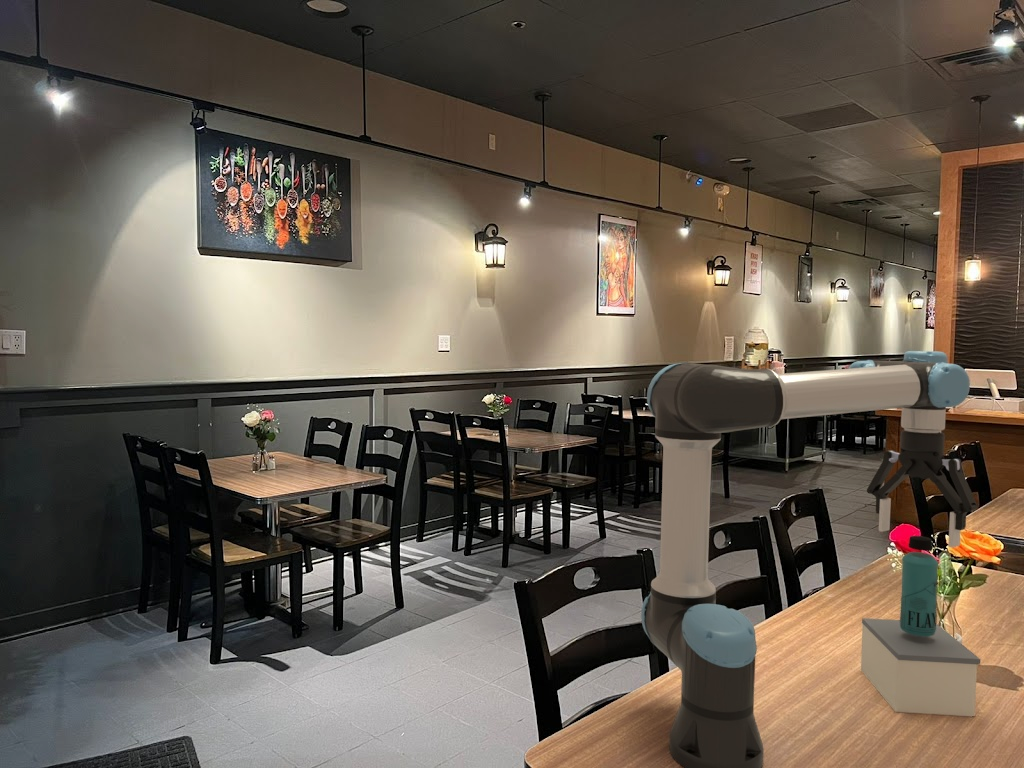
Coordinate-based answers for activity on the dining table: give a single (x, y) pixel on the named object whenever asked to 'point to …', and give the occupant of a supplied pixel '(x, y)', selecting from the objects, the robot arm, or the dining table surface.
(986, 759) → the dining table surface
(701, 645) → the robot arm
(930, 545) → the beverage bottle
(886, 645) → the lid
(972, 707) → the box
